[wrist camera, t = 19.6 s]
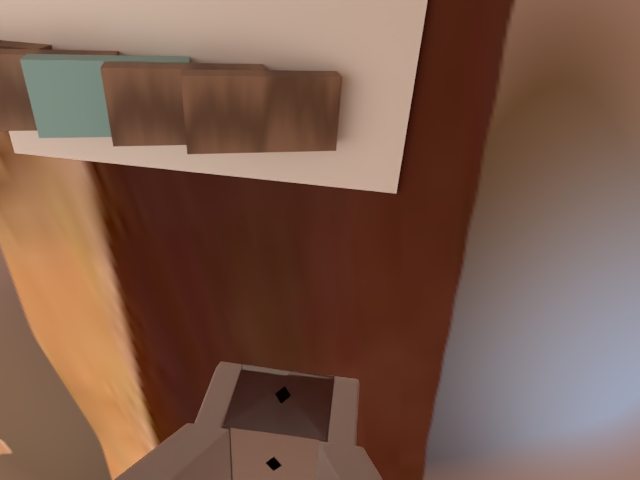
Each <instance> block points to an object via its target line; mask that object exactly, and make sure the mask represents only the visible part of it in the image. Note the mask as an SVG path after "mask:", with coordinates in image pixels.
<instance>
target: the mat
mask: <svg viewBox="0 0 640 480" xmlns="http://www.w3.org/2000/svg"><path fill="white" fill-rule="evenodd" d="M427 1H428V0H0V40H5V41H16V42H27V43H38V44H48V45H52V50H93V51H119V55H123V56H181V57H189V58H190V63H219V64H263V66H264V68H265V70H291V71H337V72H338V73H339V74H340V75H341V76H342V88H341V100H340V111H339V123H338V135H337V147H336V151H306V152H264V153H221V154H187V145H162V146H113V142H112V137H78V138H39V135H38V131H9V134H10V138H11V141H12V145H13V148H14V152H15V153H19V154H29V155H38V156H48V157H57V158H66V159H76V160H85V161H95V162H104V163H113V164H123V165H132V166H142V167H151V168H161V169H170V170H179V171H189V172H198V173H208V174H217V175H227V176H236V177H245V178H255V179H264V180H274V181H283V182H293V183H302V184H311V185H321V186H330V187H340V188H349V189H358V190H368V191H377V192H387V193H397V187H398V181H399V174H400V168H401V162H402V156H403V150H404V144H405V137H406V131H407V125H408V119H409V113H410V107H411V100H412V94H413V88H414V82H415V76H416V69H417V63H418V57H419V51H420V45H421V39H422V32H423V26H424V20H425V14H426V8H427Z"/></svg>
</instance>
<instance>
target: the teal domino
mask: <svg viewBox="0 0 640 480" xmlns="http://www.w3.org/2000/svg"><path fill="white" fill-rule="evenodd" d="M20 62H21V66H22V70H23V74H24V78H25V82H26V86H27V91H28V95H29V99H30V103H31V107H32V111H33V115H34V119H35V123H36V127H37V131H38V135H39V138H78V137H112V136H111V130H110V124H109V118H108V112H107V106H106V100H105V94H104V88H103V82H102V76H101V70H100V68H101V66H102V64H103V63H104V62H151V63H190V58H189V57H181V56H123V55H66V54H26V55H25V56H24V57H23V58H21V59H20Z"/></svg>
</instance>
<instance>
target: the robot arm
mask: <svg viewBox="0 0 640 480" xmlns="http://www.w3.org/2000/svg"><path fill="white" fill-rule="evenodd" d="M333 385H334V386H333ZM332 394H333V395H332ZM358 395H359V381H358V379H352V378H344V377H335V379H334V376H328V375H320V374H311V373H303V372H294V371H283V370H276V369H270V368H263V367H257V366H250V365H242V364H235V363H228V362H222V361H221V362H220V363H219V364H218V366H217V367H216V370H215V372H214V375H213V377H212V380H211V382H210V385H209V388H208V390H207V393H206V395H205V398H204V400H203V403H202V406H201V408H200V411H199V413H198V416H197V418H196V421H195V423H194V424H189V423H187V424H186V425H184V426H183V427H182V428H181V429H179V430H178V431H177V432H175V433H174V434H173V435H171V436H170V437H169V438H168V439H166V440H165V441H164V442H162V443H161V444H160V445H158V446H157V447H156V448H155V449H153V450H152V451H151V452H149V453H148V454H147V455H146V456H144V457H143V458H142V459H140V460H139V461H138V462H136V463H135V464H134V465H133V466H131V467H130V468H129V469H127V470H126V471H125V472H124V473H122V474H121V475H120V476H118V477H117V478H116V479H114V480H382V478H381V476H380V475H379V473H378V471H377V470H376V468H375V466H374V465H373V463H372V461H371V460H370V458H369V457H368V455H367V453H366V452H365V450H364V448H363V447H358V446H356V432H357V413H358ZM331 403H332V404H331Z"/></svg>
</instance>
